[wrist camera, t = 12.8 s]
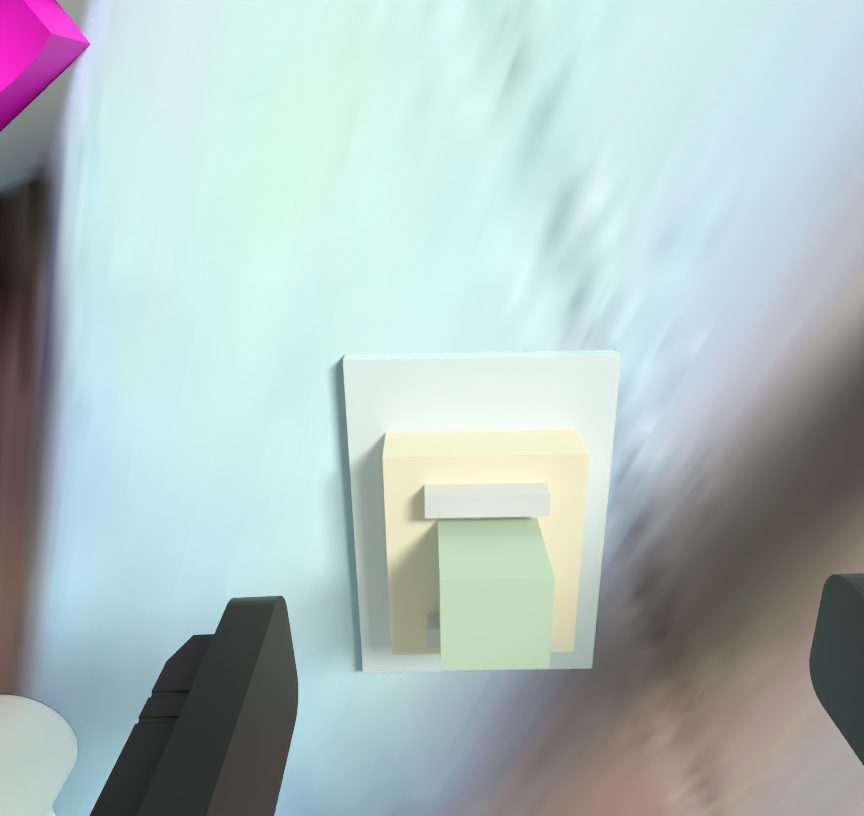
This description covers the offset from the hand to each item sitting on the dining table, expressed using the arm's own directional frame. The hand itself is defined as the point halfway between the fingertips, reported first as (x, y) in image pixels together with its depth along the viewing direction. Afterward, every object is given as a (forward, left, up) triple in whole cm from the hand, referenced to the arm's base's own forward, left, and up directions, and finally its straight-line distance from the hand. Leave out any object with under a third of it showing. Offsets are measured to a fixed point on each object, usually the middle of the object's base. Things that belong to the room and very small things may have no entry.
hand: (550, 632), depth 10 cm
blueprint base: (-1, +13, -26) cm, 29 cm away
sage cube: (-1, +13, -22) cm, 25 cm away
